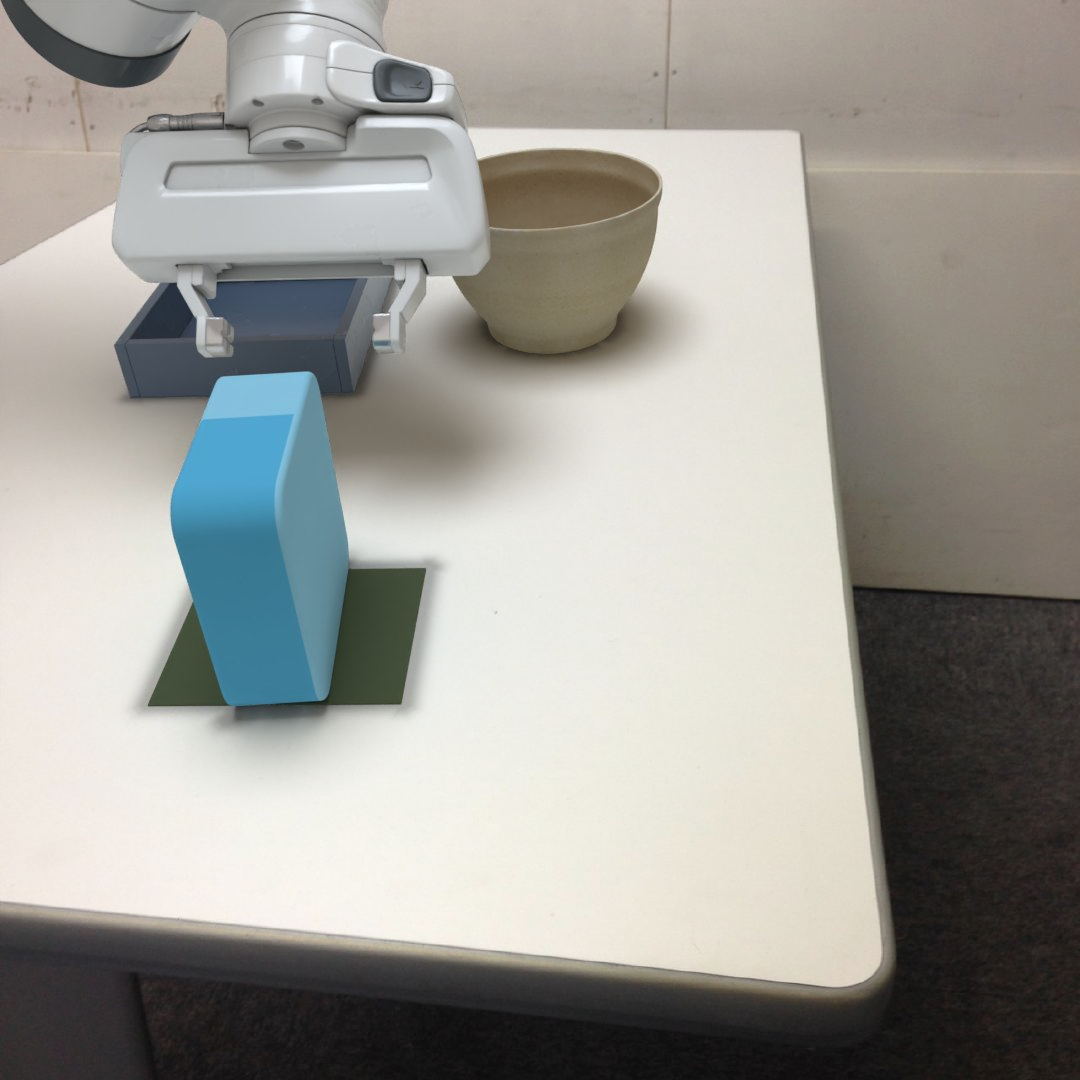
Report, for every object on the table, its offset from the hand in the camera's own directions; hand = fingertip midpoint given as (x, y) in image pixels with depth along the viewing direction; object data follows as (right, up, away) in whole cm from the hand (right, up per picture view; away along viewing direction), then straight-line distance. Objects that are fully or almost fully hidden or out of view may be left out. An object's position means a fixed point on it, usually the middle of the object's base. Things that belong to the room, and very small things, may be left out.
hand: (301, 352), depth 58 cm
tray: (-7, +6, +24) cm, 26 cm away
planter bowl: (+14, +6, +23) cm, 28 cm away
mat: (0, -15, -3) cm, 15 cm away
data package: (0, -15, -3) cm, 15 cm away
